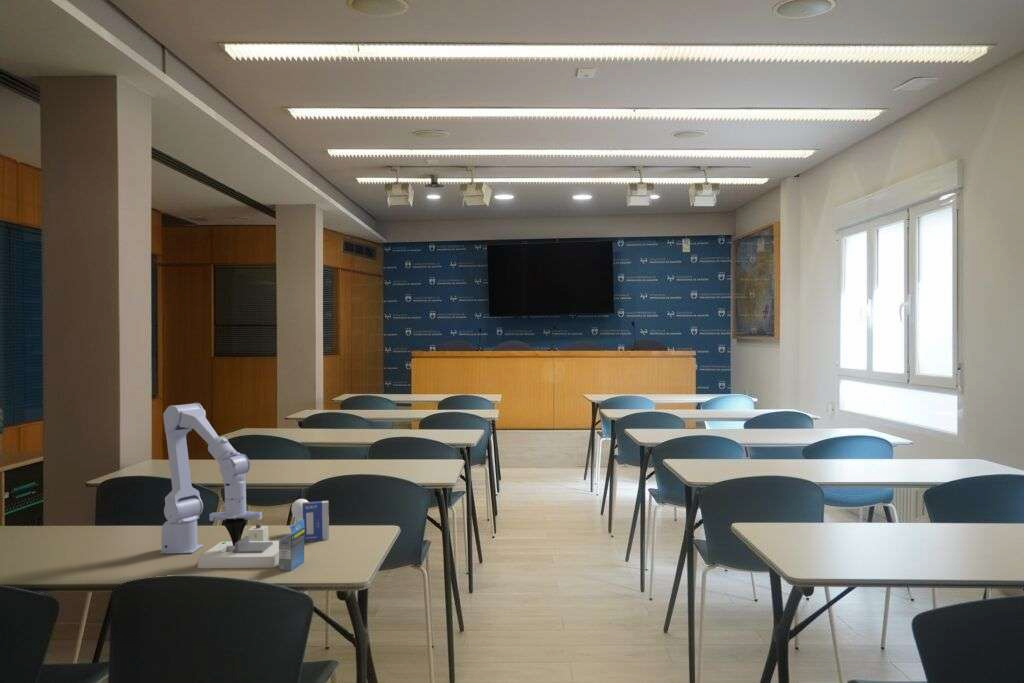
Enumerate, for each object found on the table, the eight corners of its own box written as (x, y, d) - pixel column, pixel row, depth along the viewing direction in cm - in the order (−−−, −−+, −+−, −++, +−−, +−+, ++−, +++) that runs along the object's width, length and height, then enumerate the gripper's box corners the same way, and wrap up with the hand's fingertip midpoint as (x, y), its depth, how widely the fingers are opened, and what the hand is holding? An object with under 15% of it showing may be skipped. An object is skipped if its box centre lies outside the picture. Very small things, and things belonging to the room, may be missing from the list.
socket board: (197, 568, 205) (197, 556, 205) (221, 551, 221) (221, 540, 221) (273, 567, 205) (272, 555, 205) (291, 550, 221) (291, 539, 221)
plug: (248, 548, 224) (248, 526, 224) (254, 543, 229) (253, 522, 229) (263, 547, 224) (262, 526, 224) (268, 543, 229) (268, 522, 229)
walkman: (303, 541, 230) (302, 503, 230) (303, 539, 233) (302, 501, 233) (329, 539, 232) (328, 501, 232) (329, 537, 235) (328, 499, 235)
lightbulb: (305, 535, 237) (305, 501, 237) (288, 535, 238) (287, 500, 238) (314, 530, 243) (314, 497, 243) (297, 530, 244) (296, 496, 244)
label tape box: (292, 561, 210) (291, 518, 210) (305, 561, 210) (304, 518, 210) (278, 571, 201) (277, 525, 201) (292, 571, 201) (291, 526, 201)
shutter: (232, 553, 209) (232, 543, 209) (244, 544, 217) (243, 535, 217) (262, 552, 208) (262, 543, 208) (272, 544, 217) (272, 535, 217)
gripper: (204, 501, 209) (205, 549, 209) (255, 500, 209) (256, 548, 209) (214, 495, 216) (216, 542, 216) (264, 495, 216) (265, 541, 216)
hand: (236, 544), depth 213 cm, fingers closed
